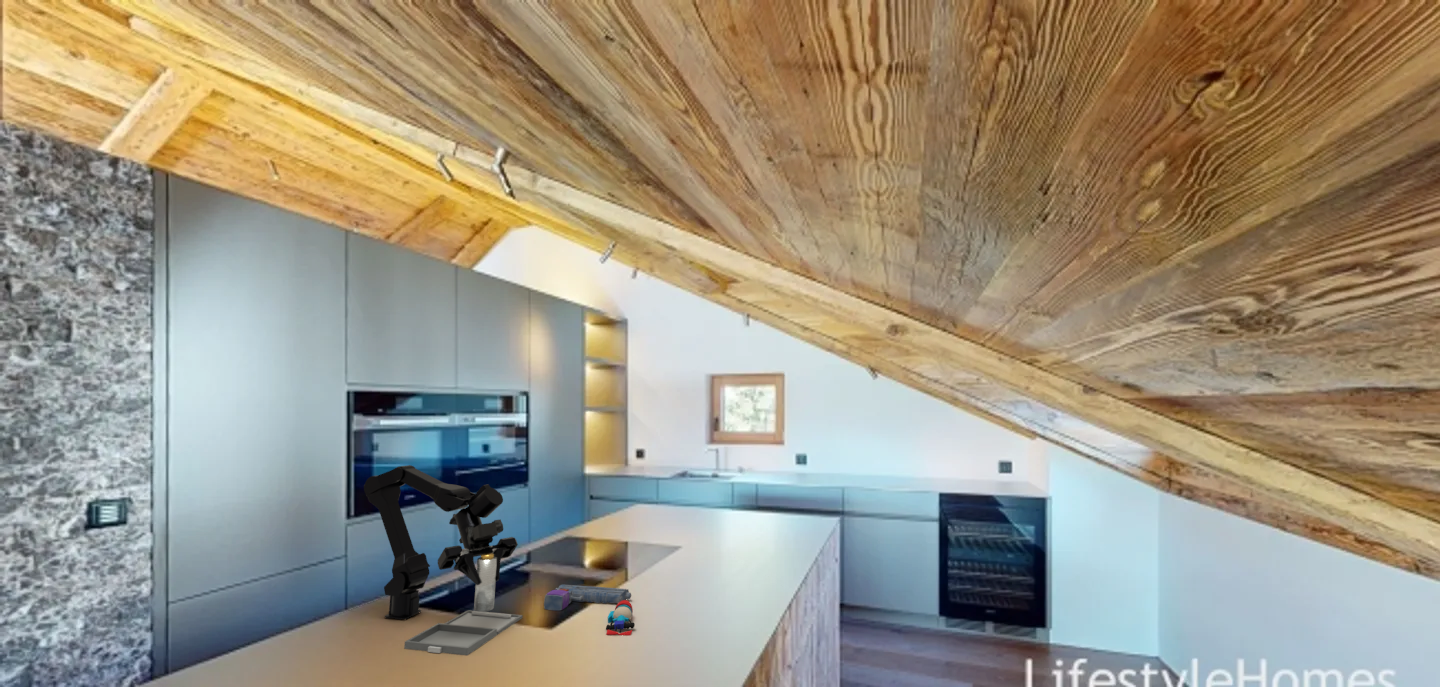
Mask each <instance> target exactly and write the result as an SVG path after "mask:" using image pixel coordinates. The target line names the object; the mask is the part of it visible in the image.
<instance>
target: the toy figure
mask: <svg viewBox="0 0 1440 687" xmlns="http://www.w3.org/2000/svg"><path fill="white" fill-rule="evenodd" d="M633 610H634V609H633V605H632V603H631V602H630V601H629V600H622V601H620V602H619V603H616V605H615V607H614V610H611V611H610V612H609V613H608V616H607V624H606V627H605V631H606V634H605V635H607V636H616V635H618V636H622V635H623V637H624V636H626V637H627V636H629V637H630V636H632V633H633V629H634V628H635V622H633V621H631V619H632V616H633ZM624 629H626V631H624V632H623V630H624ZM629 629H632V630H629ZM617 630H618V631H617Z"/></svg>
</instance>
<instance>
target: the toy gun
mask: <svg viewBox="0 0 1440 687" xmlns="http://www.w3.org/2000/svg"><path fill="white" fill-rule="evenodd" d="M631 597H632V593H631V592H629V588H628V589H627V588H616V587H601V586H591V585H590V586H589V585H573V584H560V585H558V587H555V589H553V590H550V591H548V592H547V593H546V594H545V596H544V598H543V600H544V601H543V602H544V603H543V607H544V610H549V611H562V610H565V609H567V607H569V604H571V602H579V603H584V602H587V603H593V602H594V603H595V604H600V603H603V604H608V603H611V604H612V603H613V604H618V603H619V602H620V601H622V600H626V599H628V600H631Z"/></svg>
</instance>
